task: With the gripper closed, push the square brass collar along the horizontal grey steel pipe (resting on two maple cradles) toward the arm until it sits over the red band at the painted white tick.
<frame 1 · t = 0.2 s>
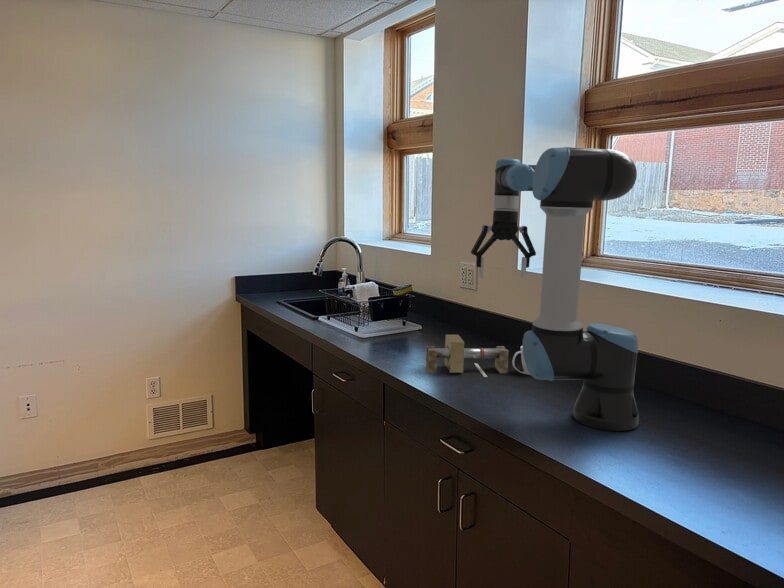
hand: (502, 277, 190), 28 cm above the worktop, fingers open, 13 cm apart
collar: (454, 353, 184), point 6 cm above the worktop, slide at 4.0 cm
tick mark: (480, 370, 186), on the worktop
pipe: (467, 353, 185), point 6 cm above the worktop
cup: (526, 373, 184), on the worktop
cradles: (466, 370, 186), on the worktop
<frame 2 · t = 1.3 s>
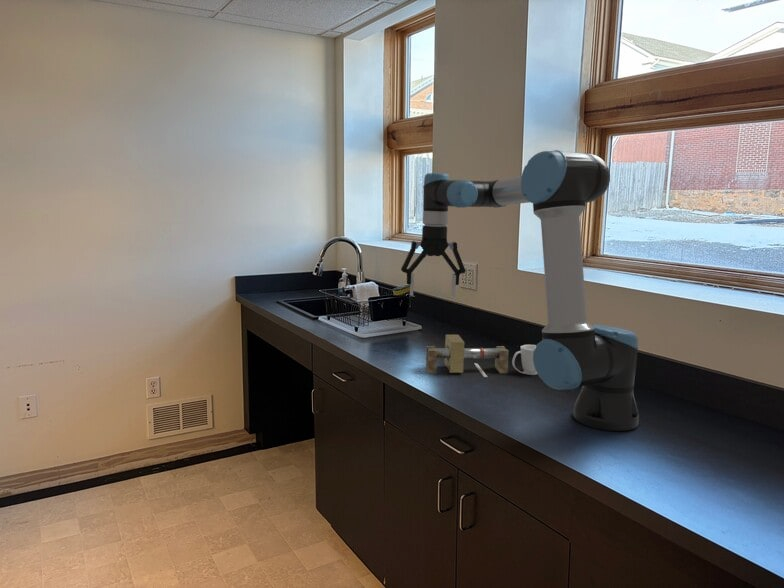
hand: (432, 295, 185), 23 cm above the worktop, fingers open, 12 cm apart
nothing on the worktop moved.
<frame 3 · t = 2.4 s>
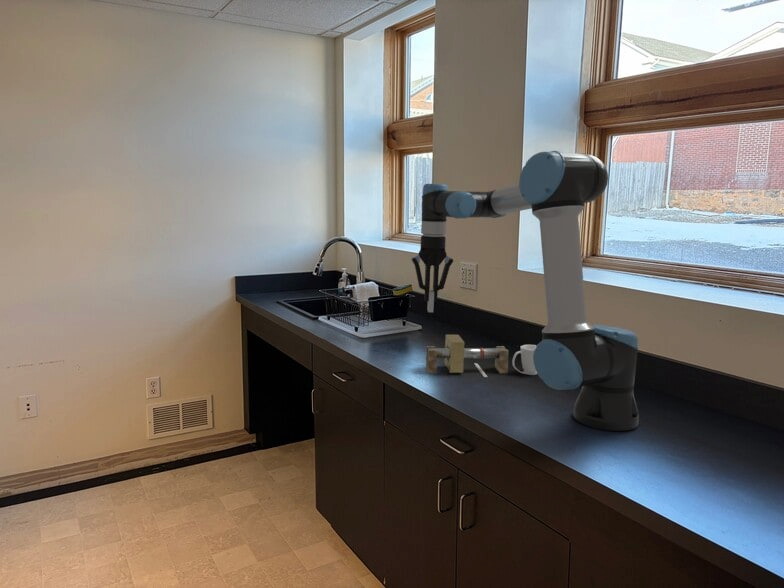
hand: (430, 311, 186), 18 cm above the worktop, fingers closed
nothing on the worktop moved.
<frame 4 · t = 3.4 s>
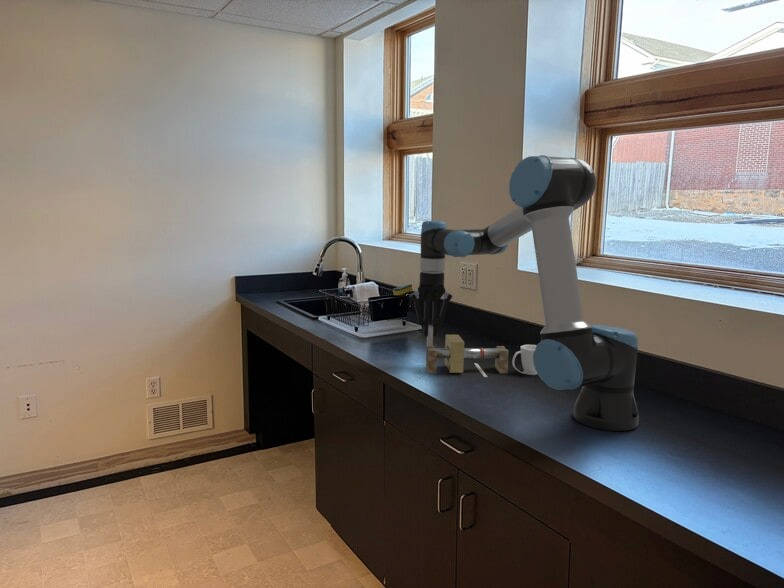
hand: (429, 346, 188), 7 cm above the worktop, fingers closed
nothing on the worktop moved.
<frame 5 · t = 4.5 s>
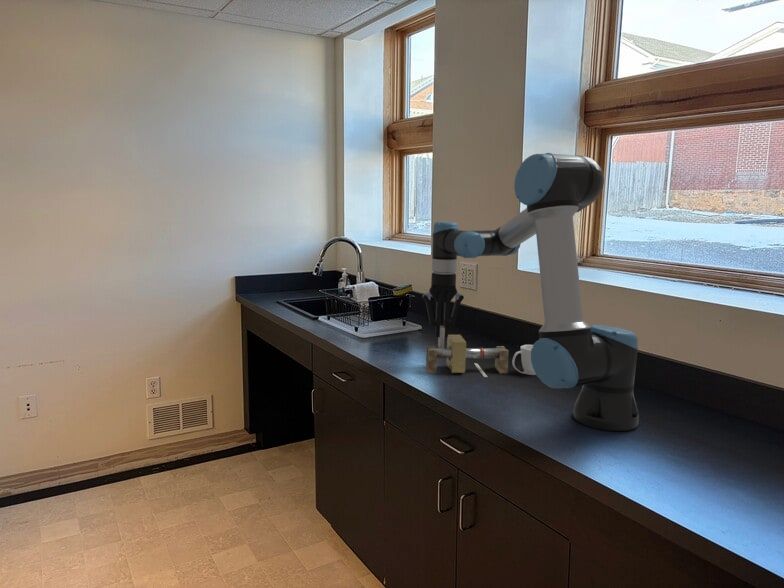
hand: (441, 347, 188), 6 cm above the worktop, fingers closed
collar: (456, 353, 184), point 5 cm above the worktop, slide at 3.4 cm, touching gripper
everything else where it was.
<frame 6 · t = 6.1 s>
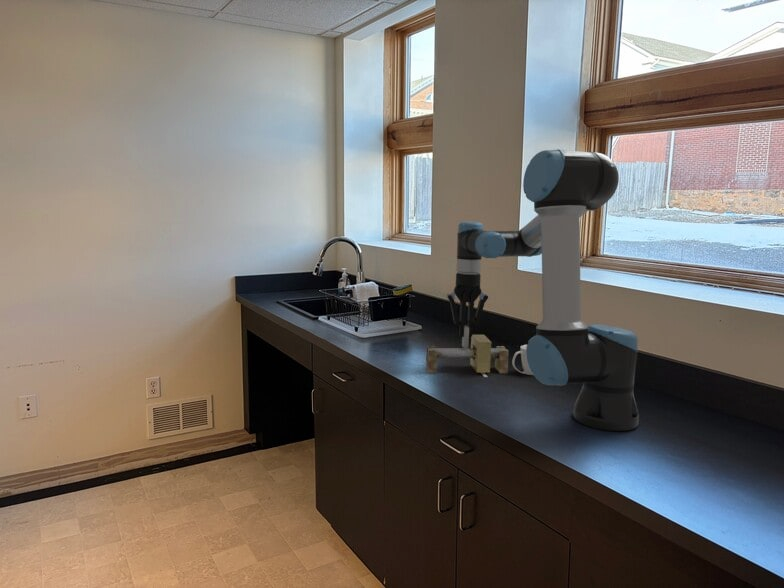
hand: (465, 346, 189), 6 cm above the worktop, fingers closed
collar: (480, 353, 185), point 5 cm above the worktop, slide at -4.2 cm, touching gripper
everything else where it was.
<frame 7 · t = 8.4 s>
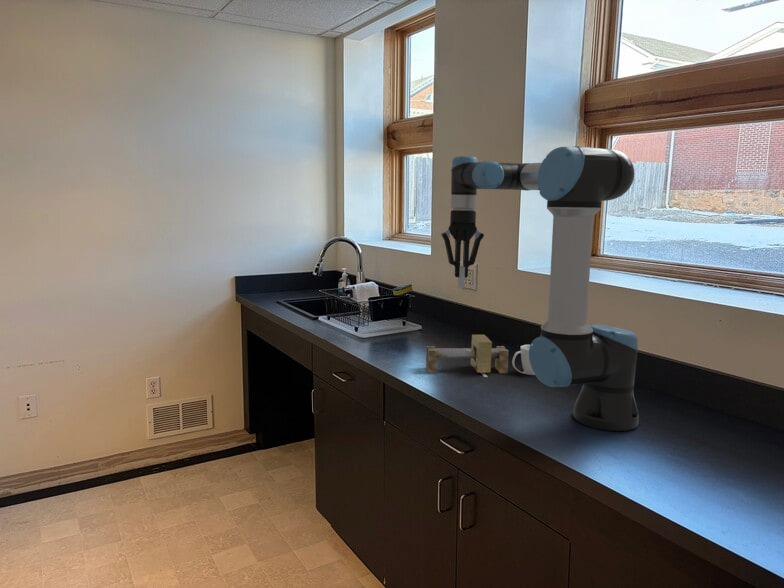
hand: (460, 287, 183), 26 cm above the worktop, fingers closed
collar: (481, 353, 185), point 6 cm above the worktop, slide at -4.4 cm
everything else where it was.
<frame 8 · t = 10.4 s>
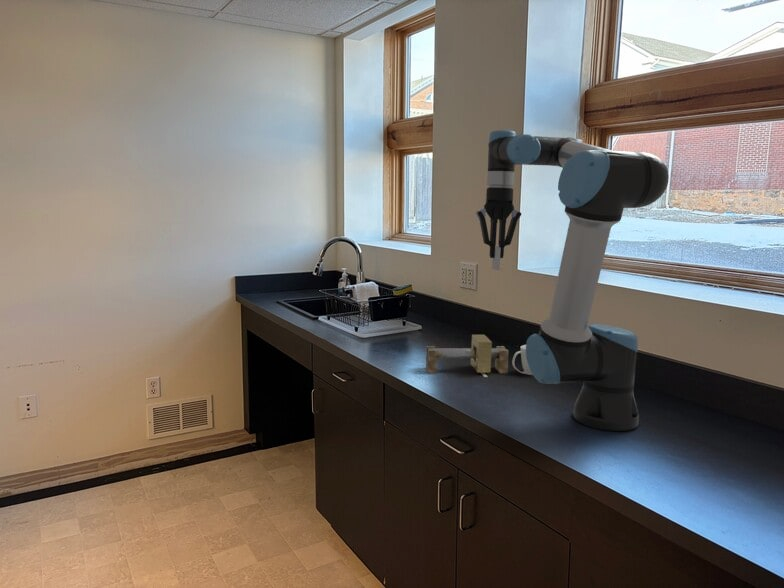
hand: (495, 269, 175), 32 cm above the worktop, fingers closed
nothing on the worktop moved.
at the end: collar slide at -4.4 cm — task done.
